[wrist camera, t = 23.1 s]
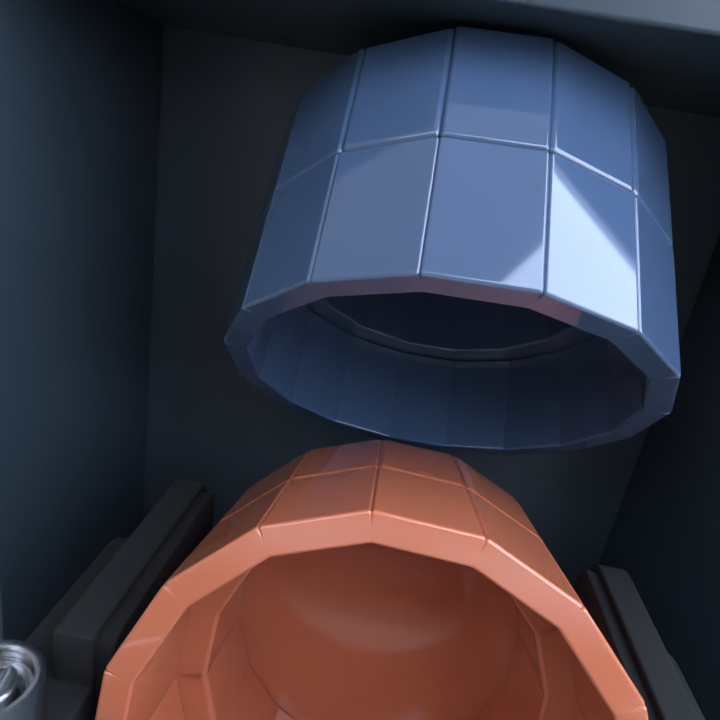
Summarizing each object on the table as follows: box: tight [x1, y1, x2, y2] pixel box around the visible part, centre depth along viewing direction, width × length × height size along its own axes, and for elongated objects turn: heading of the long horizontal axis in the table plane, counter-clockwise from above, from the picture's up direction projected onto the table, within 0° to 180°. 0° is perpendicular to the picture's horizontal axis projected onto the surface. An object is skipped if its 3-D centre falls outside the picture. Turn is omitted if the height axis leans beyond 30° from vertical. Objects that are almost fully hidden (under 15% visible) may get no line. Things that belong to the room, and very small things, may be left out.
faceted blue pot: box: [224, 26, 681, 455], centre depth 10 cm, size 7×7×4 cm
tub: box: [0, 0, 720, 720], centre depth 12 cm, size 14×14×6 cm
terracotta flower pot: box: [95, 439, 649, 720], centre depth 9 cm, size 7×7×4 cm
